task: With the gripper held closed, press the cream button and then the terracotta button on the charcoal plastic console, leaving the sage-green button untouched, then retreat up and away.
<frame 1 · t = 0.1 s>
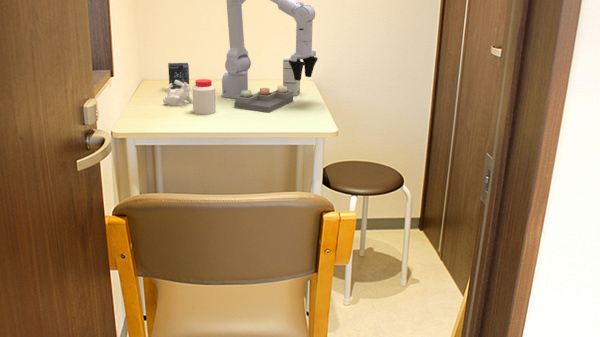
hand: (303, 78, 219), 10 cm above the table, fingers open, 7 cm apart
button terracotta: (264, 91, 221), point 5 cm above the table, slide at 0.0 cm
rabbit figurine: (180, 105, 219), on the table
box: (179, 90, 241), on the table
syrup box: (291, 94, 239), on the table
pill bottle: (204, 112, 210), on the table
button cream: (282, 89, 225), point 5 cm above the table, slide at 0.0 cm
button sage: (246, 93, 217), point 5 cm above the table, slide at 0.0 cm
console: (264, 104, 222), on the table
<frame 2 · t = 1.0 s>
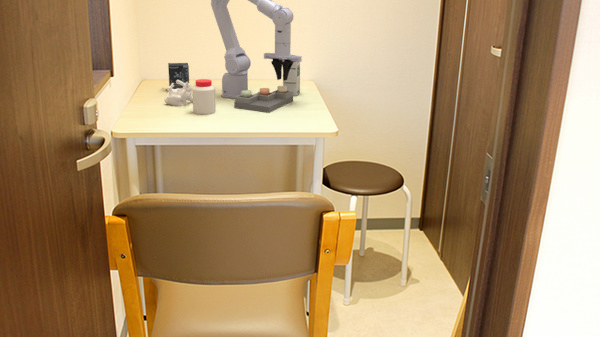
hand: (282, 79, 224), 8 cm above the table, fingers closed
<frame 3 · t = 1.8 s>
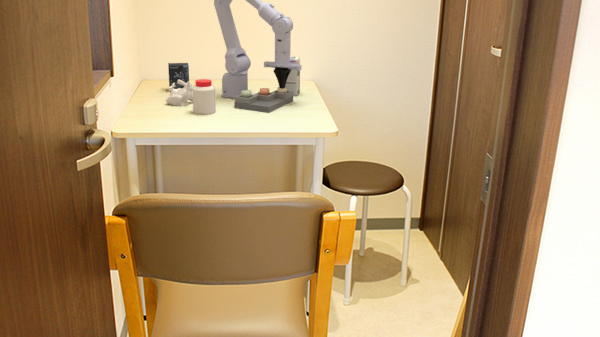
hand: (282, 88, 225), 5 cm above the table, fingers closed, pressing on button cream
button cream: (282, 90, 225), point 4 cm above the table, slide at -0.4 cm, touching gripper
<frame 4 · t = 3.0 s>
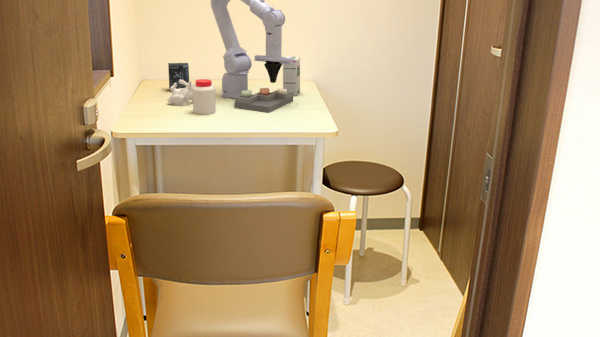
hand: (273, 82, 222), 8 cm above the table, fingers closed
button cream: (282, 92, 225), point 4 cm above the table, slide at -1.0 cm
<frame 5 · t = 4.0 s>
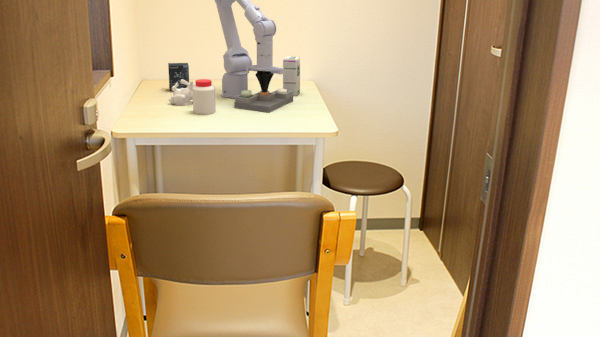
hand: (264, 91, 221), 5 cm above the table, fingers closed, pressing on button terracotta
button terracotta: (264, 94, 221), point 4 cm above the table, slide at -1.0 cm, touching gripper
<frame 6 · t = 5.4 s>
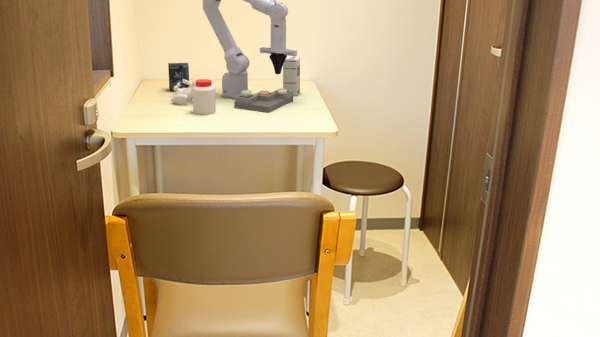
hand: (278, 73, 226), 10 cm above the table, fingers closed
button terracotta: (264, 94, 221), point 4 cm above the table, slide at -1.0 cm
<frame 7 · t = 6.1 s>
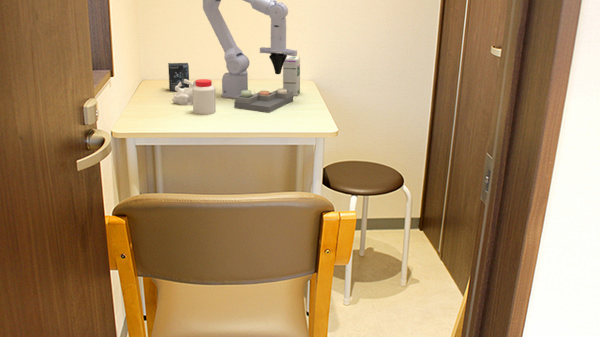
hand: (278, 73, 226), 10 cm above the table, fingers closed
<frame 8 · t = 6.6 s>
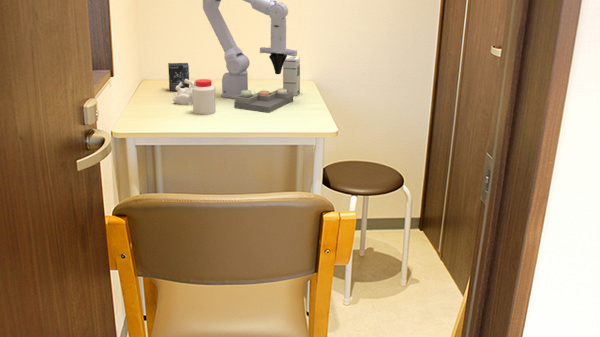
hand: (278, 73, 226), 10 cm above the table, fingers closed
at the end: button cream slide at -1.0 cm; button terracotta slide at -1.0 cm; button sage slide at 0.0 cm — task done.
